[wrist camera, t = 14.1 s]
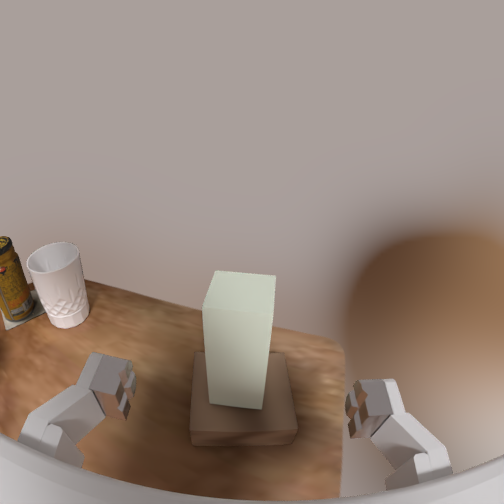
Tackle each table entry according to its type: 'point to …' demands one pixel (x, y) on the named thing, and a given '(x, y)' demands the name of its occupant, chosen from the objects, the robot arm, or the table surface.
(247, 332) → the sage block
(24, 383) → the table surface
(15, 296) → the condiment
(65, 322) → the white cup
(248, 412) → the walnut base
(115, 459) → the table surface
